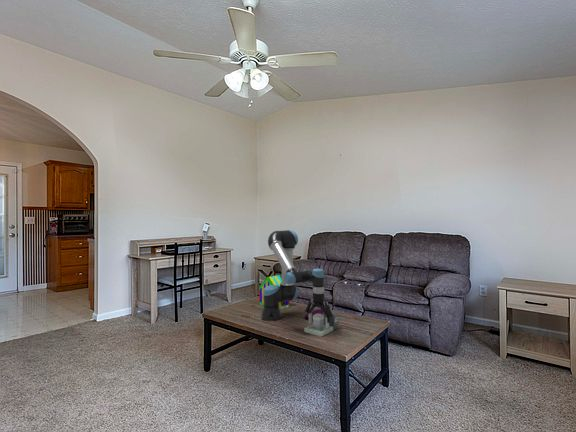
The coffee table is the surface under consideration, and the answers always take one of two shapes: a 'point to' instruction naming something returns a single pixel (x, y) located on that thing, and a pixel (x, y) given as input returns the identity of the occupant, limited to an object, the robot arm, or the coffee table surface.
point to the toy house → (269, 281)
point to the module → (318, 322)
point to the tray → (322, 333)
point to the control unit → (332, 320)
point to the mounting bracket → (315, 312)
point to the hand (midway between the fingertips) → (318, 325)
